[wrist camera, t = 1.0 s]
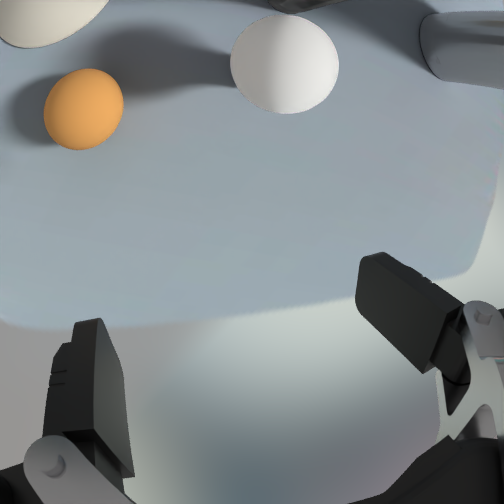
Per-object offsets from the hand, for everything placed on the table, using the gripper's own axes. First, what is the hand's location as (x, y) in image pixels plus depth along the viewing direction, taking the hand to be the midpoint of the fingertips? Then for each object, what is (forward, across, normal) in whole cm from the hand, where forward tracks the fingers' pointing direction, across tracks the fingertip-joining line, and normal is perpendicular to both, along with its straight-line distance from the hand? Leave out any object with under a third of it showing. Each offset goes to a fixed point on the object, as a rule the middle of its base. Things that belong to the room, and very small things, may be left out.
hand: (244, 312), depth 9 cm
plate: (+19, +9, -20) cm, 29 cm away
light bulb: (+19, -7, -8) cm, 22 cm away
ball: (+16, +6, -7) cm, 19 cm away
